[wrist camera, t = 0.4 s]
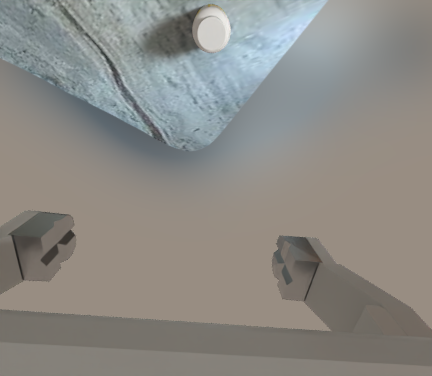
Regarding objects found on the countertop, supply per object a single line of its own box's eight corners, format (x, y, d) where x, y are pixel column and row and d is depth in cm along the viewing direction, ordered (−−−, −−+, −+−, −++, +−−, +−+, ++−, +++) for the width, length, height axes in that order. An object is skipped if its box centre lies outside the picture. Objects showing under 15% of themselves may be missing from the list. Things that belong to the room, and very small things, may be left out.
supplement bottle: (201, 48, 49) (199, 64, 40) (189, 12, 45) (183, 19, 36) (231, 36, 48) (236, 49, 38) (221, -3, 44) (224, 0, 34)
